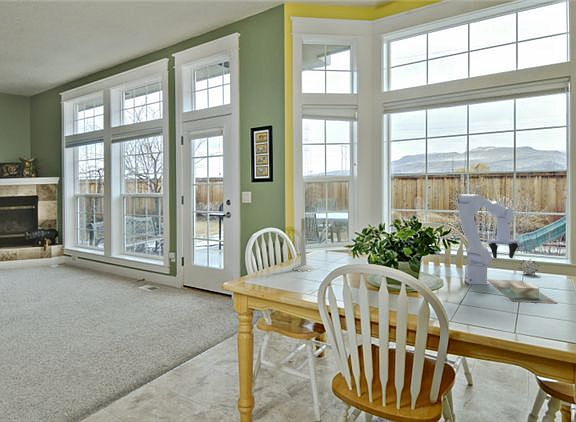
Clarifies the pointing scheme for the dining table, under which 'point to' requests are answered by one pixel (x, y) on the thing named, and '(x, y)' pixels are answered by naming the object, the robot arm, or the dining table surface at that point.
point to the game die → (529, 267)
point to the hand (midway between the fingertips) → (502, 258)
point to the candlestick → (303, 252)
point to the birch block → (524, 290)
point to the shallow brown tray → (505, 289)
